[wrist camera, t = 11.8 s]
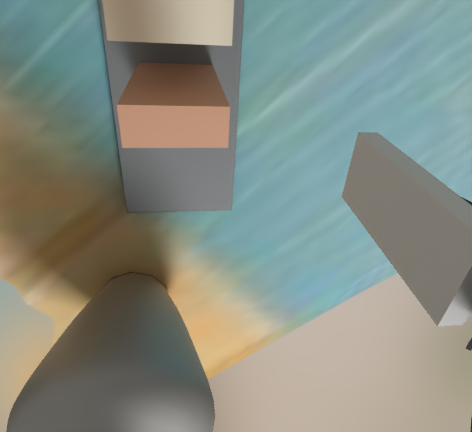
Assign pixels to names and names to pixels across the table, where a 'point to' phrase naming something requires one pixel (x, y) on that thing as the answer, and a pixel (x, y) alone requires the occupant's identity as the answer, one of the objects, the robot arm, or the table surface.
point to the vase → (119, 369)
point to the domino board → (178, 159)
